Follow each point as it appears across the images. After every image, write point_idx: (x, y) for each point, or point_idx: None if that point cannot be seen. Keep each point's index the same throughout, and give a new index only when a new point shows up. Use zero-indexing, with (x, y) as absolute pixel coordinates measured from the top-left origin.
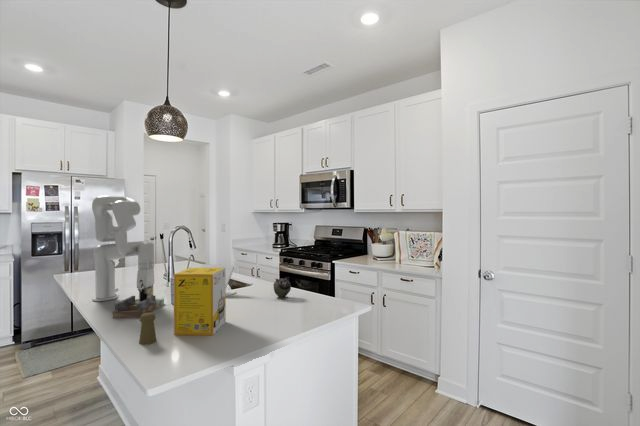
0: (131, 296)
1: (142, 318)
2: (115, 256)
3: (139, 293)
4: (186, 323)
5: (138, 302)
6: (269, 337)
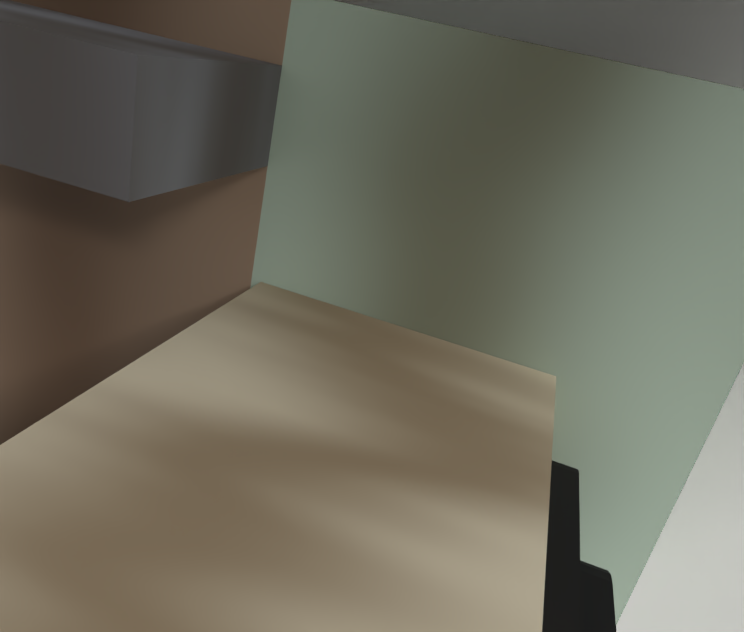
0: (24, 56)
1: None
2: None
3: (63, 422)
4: None
5: (245, 266)
6: None
